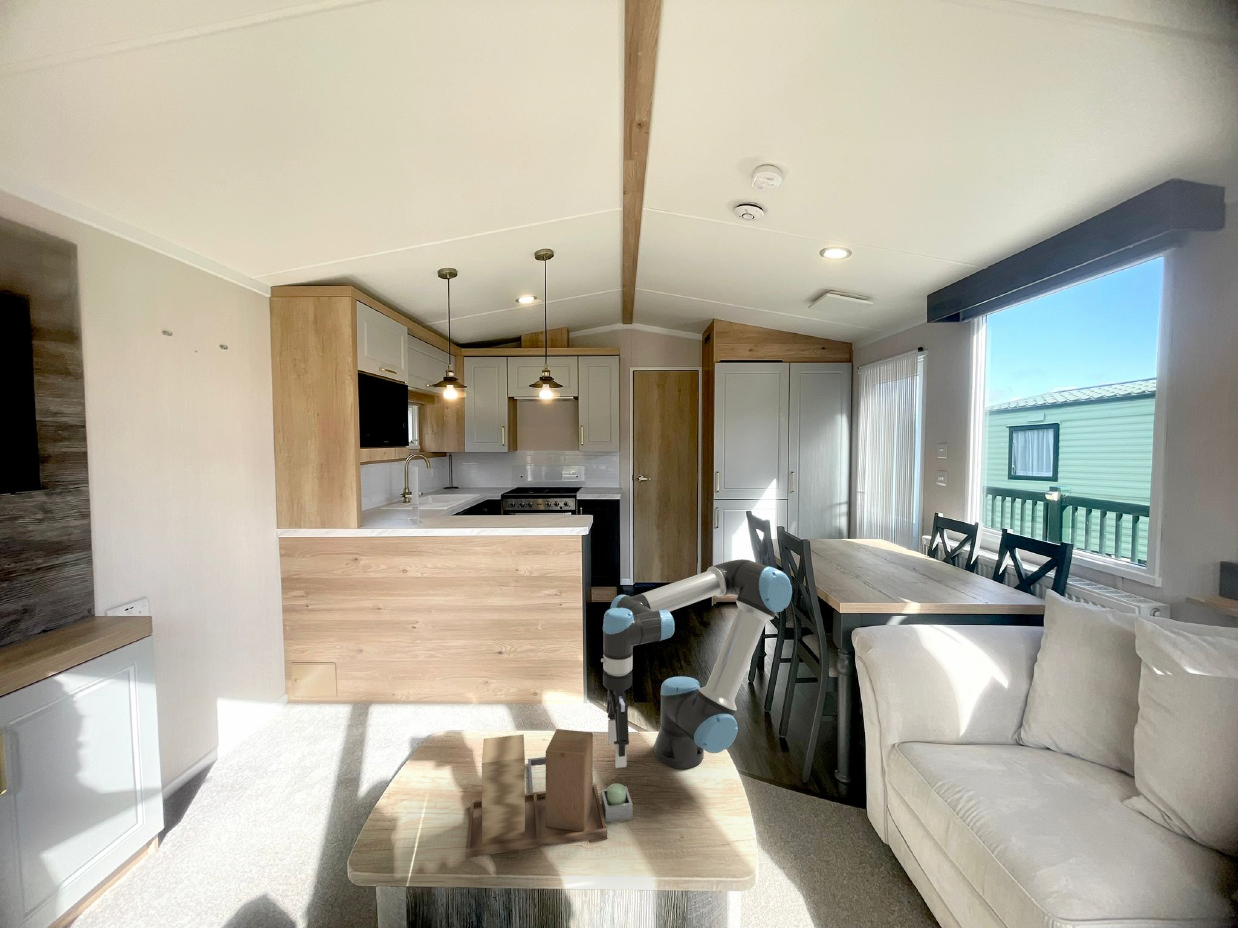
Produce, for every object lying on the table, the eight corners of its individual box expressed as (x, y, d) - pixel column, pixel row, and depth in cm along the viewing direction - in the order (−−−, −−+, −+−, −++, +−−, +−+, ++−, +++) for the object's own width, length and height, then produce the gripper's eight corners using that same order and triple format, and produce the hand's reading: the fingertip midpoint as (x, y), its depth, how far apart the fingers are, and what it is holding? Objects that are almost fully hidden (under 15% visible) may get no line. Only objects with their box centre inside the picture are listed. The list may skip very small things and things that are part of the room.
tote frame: (580, 757, 159) (580, 752, 159) (588, 792, 143) (588, 787, 143) (527, 763, 156) (527, 758, 155) (530, 800, 140) (530, 794, 140)
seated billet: (523, 808, 136) (523, 734, 135) (524, 837, 126) (524, 757, 125) (484, 813, 134) (483, 738, 133) (482, 843, 124) (481, 762, 123)
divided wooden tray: (595, 791, 144) (595, 784, 144) (607, 838, 127) (607, 830, 127) (471, 808, 137) (470, 800, 137) (465, 860, 120) (465, 851, 120)
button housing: (626, 800, 140) (626, 786, 140) (632, 819, 134) (632, 804, 133) (600, 803, 139) (600, 789, 139) (605, 823, 132) (605, 807, 132)
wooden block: (584, 833, 128) (584, 754, 127) (544, 828, 129) (545, 750, 128) (592, 804, 138) (593, 731, 137) (556, 800, 139) (556, 727, 138)
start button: (623, 794, 139) (623, 782, 139) (627, 807, 134) (627, 794, 134) (605, 797, 138) (605, 784, 138) (609, 809, 133) (609, 796, 133)
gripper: (596, 653, 144) (595, 732, 145) (611, 691, 123) (610, 783, 124) (622, 651, 145) (622, 729, 147) (642, 688, 124) (641, 779, 125)
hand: (616, 754), depth 135 cm, fingers open, 9 cm apart
